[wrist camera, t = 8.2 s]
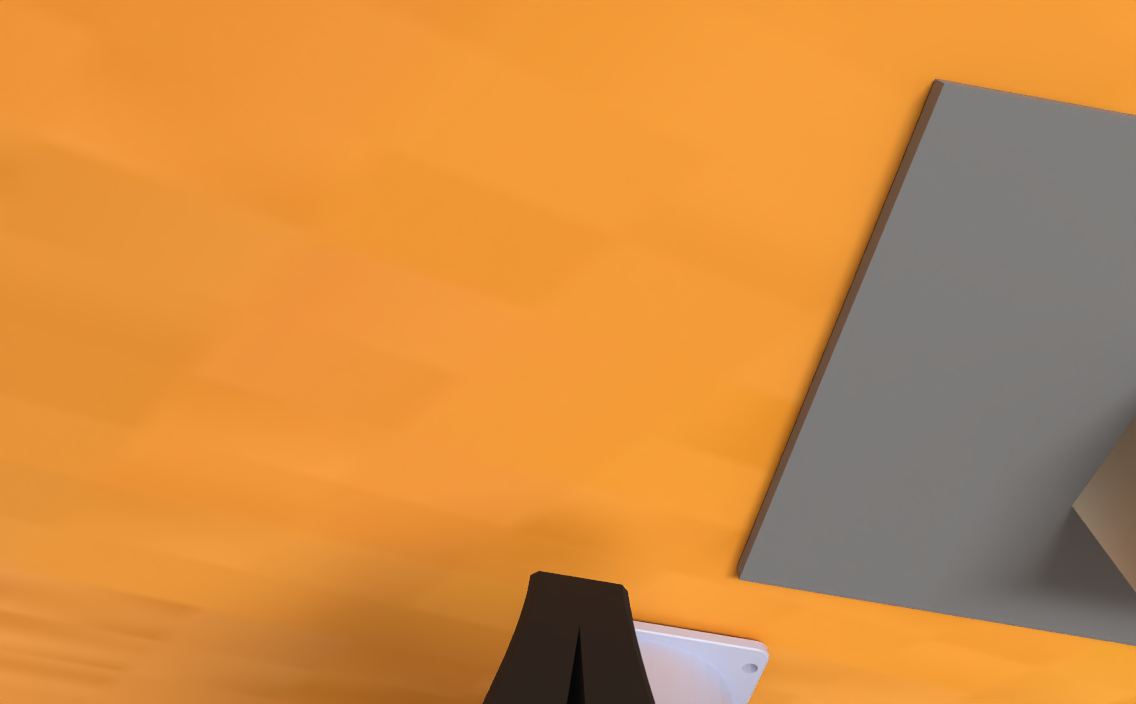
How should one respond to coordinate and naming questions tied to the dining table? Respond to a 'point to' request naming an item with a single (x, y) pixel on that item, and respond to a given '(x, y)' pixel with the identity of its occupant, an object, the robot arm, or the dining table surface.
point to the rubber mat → (974, 378)
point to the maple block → (1114, 504)
